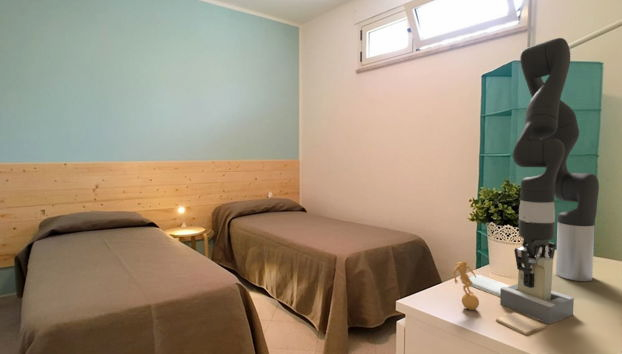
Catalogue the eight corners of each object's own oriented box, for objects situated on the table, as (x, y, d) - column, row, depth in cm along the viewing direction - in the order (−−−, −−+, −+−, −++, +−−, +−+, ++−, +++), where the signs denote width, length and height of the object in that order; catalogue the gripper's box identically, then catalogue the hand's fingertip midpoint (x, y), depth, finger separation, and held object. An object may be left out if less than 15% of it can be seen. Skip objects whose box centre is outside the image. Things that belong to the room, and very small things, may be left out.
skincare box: (516, 300, 87) (517, 254, 87) (526, 296, 90) (527, 251, 89) (542, 309, 82) (544, 261, 81) (552, 305, 84) (553, 258, 83)
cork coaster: (514, 314, 82) (514, 312, 82) (545, 327, 76) (545, 324, 76) (496, 321, 79) (496, 318, 79) (526, 335, 73) (526, 332, 73)
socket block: (523, 296, 93) (524, 281, 93) (573, 314, 82) (573, 297, 82) (500, 303, 88) (500, 287, 88) (549, 323, 78) (549, 306, 77)
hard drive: (461, 278, 104) (500, 293, 93) (478, 274, 107) (518, 287, 97) (461, 284, 104) (500, 298, 93) (478, 279, 108) (517, 292, 97)
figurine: (467, 316, 82) (468, 268, 81) (446, 307, 87) (446, 261, 86) (487, 308, 86) (488, 262, 85) (465, 299, 91) (466, 256, 90)
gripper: (537, 213, 91) (535, 275, 92) (504, 219, 84) (502, 285, 86) (568, 218, 84) (566, 284, 85) (535, 224, 78) (533, 296, 79)
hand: (534, 284), depth 85 cm, fingers closed on skincare box, 4 cm apart
